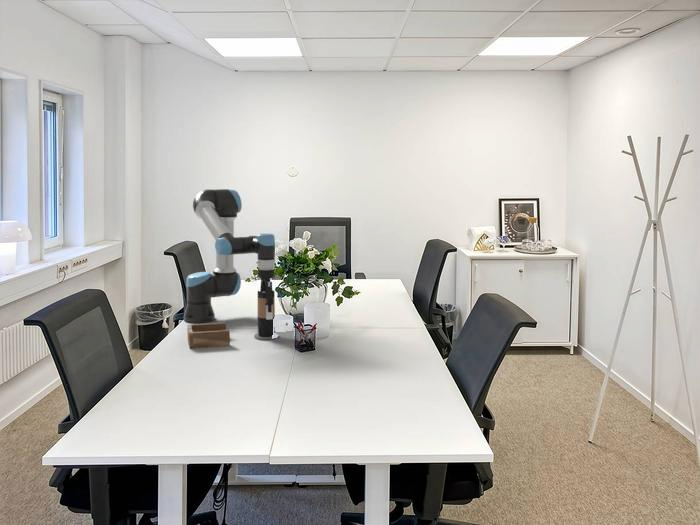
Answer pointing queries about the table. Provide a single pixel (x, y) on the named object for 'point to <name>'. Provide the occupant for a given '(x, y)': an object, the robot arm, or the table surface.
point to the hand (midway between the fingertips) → (266, 315)
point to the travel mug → (264, 316)
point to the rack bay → (208, 335)
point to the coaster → (262, 337)
